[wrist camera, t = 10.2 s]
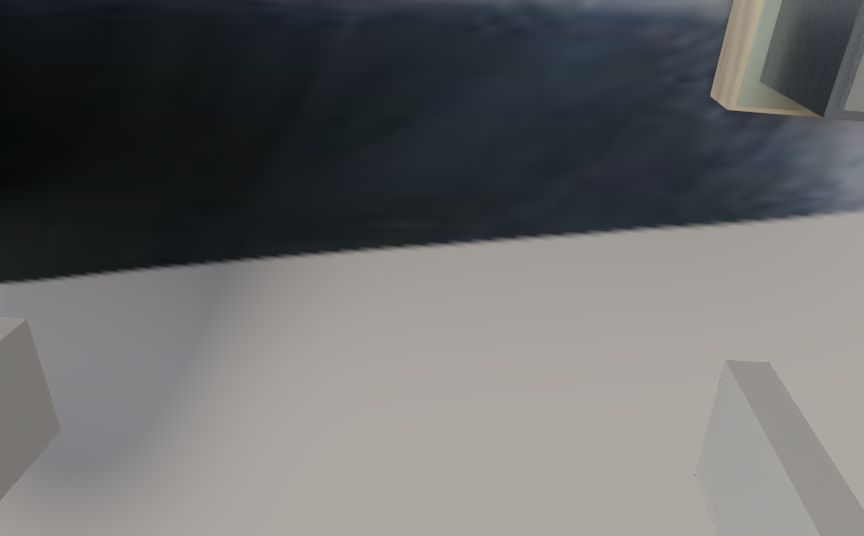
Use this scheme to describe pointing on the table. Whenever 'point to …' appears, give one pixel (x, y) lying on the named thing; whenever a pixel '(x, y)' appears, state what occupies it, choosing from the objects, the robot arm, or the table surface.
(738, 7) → the stand
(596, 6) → the table surface
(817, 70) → the housing
